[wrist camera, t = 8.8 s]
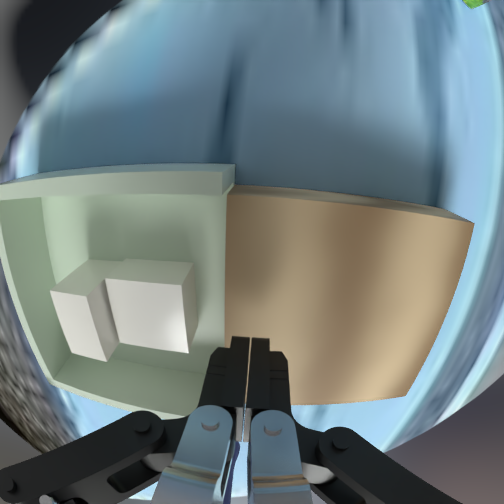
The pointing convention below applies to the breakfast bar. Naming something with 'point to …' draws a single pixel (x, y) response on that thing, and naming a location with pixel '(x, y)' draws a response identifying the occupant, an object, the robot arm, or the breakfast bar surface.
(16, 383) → the breakfast bar surface
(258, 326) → the board
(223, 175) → the tray
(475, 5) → the syrup box
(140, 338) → the tile
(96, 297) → the tile
